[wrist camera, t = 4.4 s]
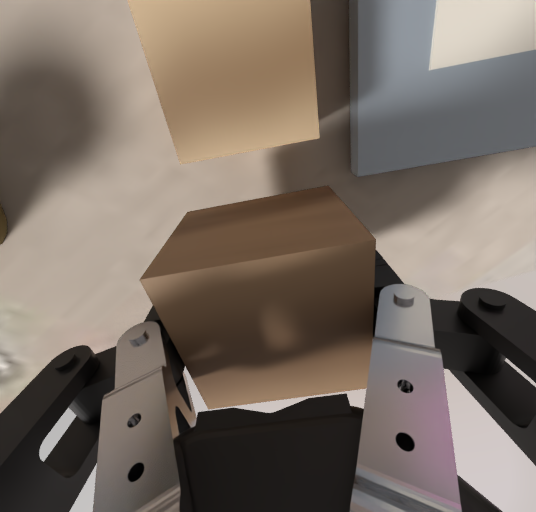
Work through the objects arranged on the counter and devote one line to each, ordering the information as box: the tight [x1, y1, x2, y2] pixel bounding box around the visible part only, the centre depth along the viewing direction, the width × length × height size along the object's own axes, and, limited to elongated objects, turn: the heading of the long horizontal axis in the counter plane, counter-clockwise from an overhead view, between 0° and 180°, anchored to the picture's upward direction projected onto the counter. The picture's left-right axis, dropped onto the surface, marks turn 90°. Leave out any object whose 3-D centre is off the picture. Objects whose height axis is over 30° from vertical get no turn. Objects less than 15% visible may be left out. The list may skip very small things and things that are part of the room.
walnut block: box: [140, 186, 376, 409], centre depth 10 cm, size 6×6×5 cm
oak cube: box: [128, 0, 320, 164], centre depth 10 cm, size 5×5×5 cm
